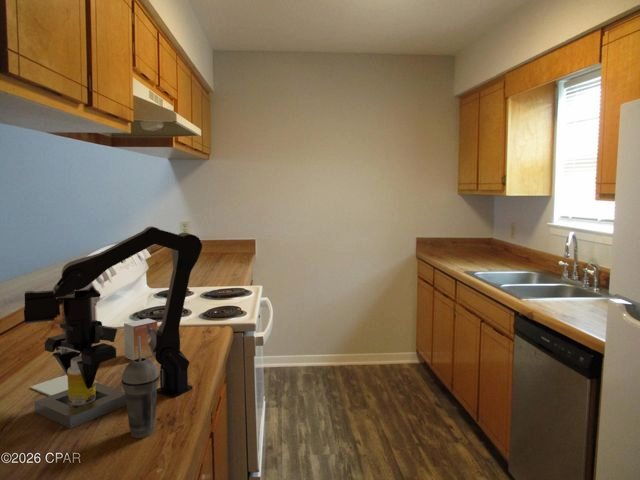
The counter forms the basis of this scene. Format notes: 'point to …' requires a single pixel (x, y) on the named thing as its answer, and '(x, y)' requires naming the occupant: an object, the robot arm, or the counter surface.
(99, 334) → the robot arm
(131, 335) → the small box
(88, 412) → the frame
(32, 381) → the counter surface
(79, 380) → the supplement bottle
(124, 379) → the beverage cup
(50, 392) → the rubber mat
